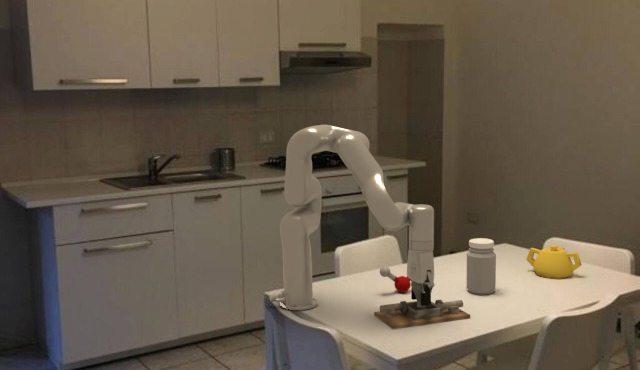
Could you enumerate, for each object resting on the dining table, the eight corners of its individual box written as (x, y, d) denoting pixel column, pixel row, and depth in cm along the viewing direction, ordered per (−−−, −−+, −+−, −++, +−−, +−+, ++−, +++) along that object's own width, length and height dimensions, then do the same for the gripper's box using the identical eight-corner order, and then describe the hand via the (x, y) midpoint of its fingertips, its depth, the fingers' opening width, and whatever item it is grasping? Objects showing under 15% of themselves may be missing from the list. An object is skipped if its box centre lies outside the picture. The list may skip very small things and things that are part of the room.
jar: (461, 292, 246) (461, 241, 243) (475, 285, 253) (476, 236, 251) (486, 297, 239) (486, 245, 237) (500, 290, 247) (501, 240, 244)
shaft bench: (393, 329, 211) (392, 312, 210) (374, 315, 224) (374, 299, 223) (470, 318, 219) (470, 302, 218) (447, 305, 232) (447, 289, 231)
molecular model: (385, 298, 241) (385, 269, 240) (376, 293, 246) (376, 265, 245) (428, 290, 249) (428, 262, 248) (418, 286, 254) (418, 258, 253)
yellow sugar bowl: (587, 270, 270) (588, 242, 269) (576, 282, 255) (577, 252, 253) (534, 264, 281) (535, 237, 279) (520, 275, 266) (521, 246, 264)
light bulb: (426, 312, 217) (426, 280, 215) (408, 308, 220) (408, 277, 219) (433, 306, 222) (434, 275, 220) (416, 303, 225) (416, 272, 224)
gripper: (398, 240, 225) (398, 295, 228) (423, 252, 209) (422, 311, 212) (419, 238, 227) (419, 293, 230) (445, 250, 211) (445, 308, 214)
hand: (421, 301), depth 221 cm, fingers closed on light bulb, 5 cm apart
